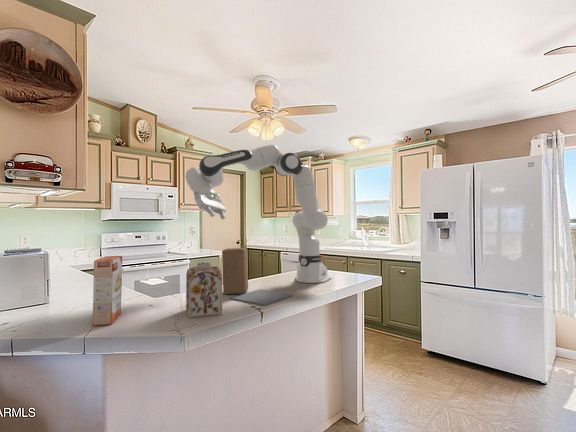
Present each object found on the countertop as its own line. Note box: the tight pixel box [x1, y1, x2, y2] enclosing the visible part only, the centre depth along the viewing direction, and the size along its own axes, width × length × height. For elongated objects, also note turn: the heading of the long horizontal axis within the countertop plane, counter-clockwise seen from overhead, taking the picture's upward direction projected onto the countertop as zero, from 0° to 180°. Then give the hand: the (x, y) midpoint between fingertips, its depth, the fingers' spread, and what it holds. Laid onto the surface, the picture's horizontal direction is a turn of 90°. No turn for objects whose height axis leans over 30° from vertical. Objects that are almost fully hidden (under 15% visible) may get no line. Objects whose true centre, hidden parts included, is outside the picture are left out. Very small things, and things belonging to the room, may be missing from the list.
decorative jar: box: [185, 261, 223, 319], centre depth 115 cm, size 12×12×18 cm
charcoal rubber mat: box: [229, 288, 294, 307], centre depth 137 cm, size 20×19×1 cm
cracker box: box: [92, 255, 123, 327], centre depth 107 cm, size 14×6×21 cm, turn 17°
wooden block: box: [221, 247, 249, 295], centre depth 146 cm, size 10×10×20 cm
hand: (218, 217), depth 152 cm, fingers open, 8 cm apart
